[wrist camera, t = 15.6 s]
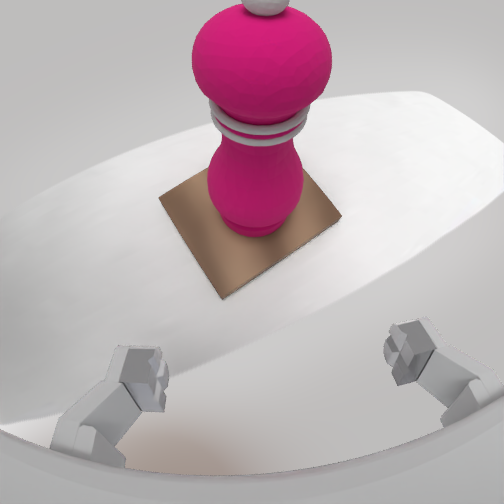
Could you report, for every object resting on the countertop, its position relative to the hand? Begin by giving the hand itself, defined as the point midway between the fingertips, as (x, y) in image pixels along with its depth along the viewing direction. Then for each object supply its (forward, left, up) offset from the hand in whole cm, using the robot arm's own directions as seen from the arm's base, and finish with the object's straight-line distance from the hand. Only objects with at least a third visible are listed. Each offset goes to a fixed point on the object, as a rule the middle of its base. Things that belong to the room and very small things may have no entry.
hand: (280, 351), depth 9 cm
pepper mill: (+6, +10, -14) cm, 18 cm away
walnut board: (+6, +10, -15) cm, 19 cm away
